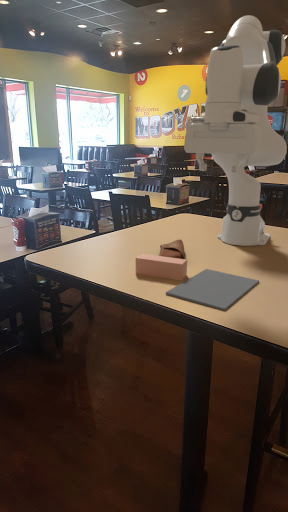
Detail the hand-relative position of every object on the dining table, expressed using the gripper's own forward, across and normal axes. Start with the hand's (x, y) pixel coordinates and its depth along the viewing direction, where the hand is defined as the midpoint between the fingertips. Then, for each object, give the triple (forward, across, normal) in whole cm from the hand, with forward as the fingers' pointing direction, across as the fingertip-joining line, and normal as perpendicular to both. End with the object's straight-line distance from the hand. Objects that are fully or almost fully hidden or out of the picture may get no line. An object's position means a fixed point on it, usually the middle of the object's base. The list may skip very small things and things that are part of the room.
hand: (218, 171), depth 100 cm
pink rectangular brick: (+29, -12, -9) cm, 33 cm away
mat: (+29, +5, -9) cm, 31 cm away
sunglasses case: (+30, -20, +6) cm, 36 cm away
